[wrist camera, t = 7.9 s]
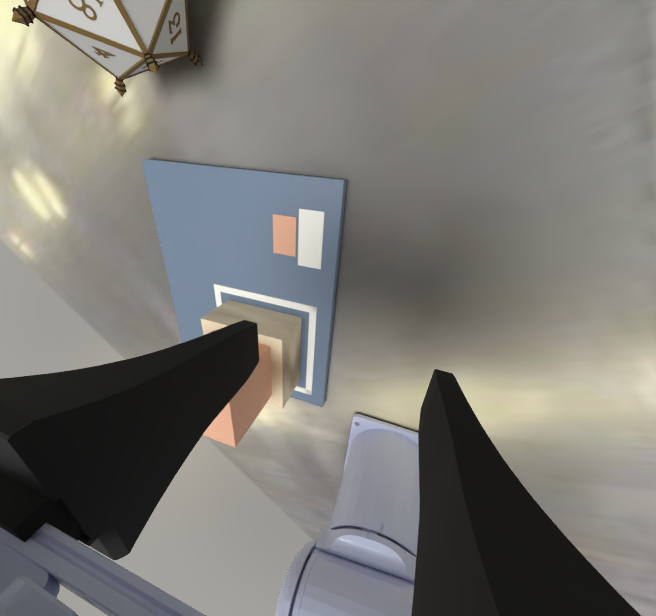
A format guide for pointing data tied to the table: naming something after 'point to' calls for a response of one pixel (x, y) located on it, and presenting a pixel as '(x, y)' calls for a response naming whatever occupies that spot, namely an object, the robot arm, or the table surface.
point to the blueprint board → (252, 249)
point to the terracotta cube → (244, 403)
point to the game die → (118, 31)
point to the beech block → (267, 341)
